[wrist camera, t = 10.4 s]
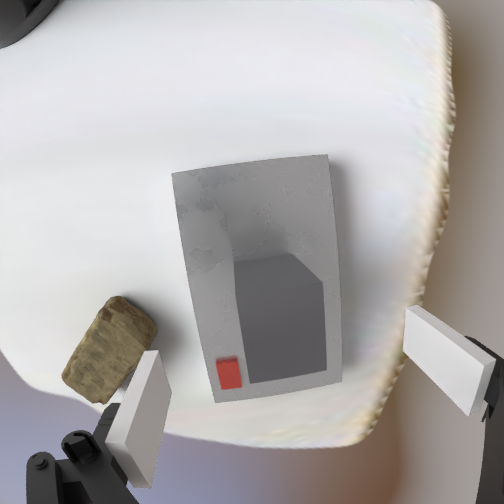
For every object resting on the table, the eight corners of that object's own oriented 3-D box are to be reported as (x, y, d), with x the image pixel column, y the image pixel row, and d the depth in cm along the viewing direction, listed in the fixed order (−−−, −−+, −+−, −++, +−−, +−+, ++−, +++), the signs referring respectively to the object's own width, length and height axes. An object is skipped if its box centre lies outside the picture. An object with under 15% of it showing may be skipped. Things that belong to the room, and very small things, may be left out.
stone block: (74, 359, 30) (56, 381, 25) (118, 287, 29) (99, 303, 24) (114, 389, 31) (101, 414, 26) (163, 322, 30) (153, 344, 25)
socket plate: (177, 175, 27) (170, 173, 23) (317, 158, 28) (329, 153, 24) (216, 386, 31) (215, 406, 28) (333, 367, 32) (343, 384, 28)
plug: (233, 256, 28) (235, 296, 17) (286, 248, 29) (322, 282, 17) (242, 316, 30) (249, 383, 18) (293, 308, 30) (326, 369, 18)
